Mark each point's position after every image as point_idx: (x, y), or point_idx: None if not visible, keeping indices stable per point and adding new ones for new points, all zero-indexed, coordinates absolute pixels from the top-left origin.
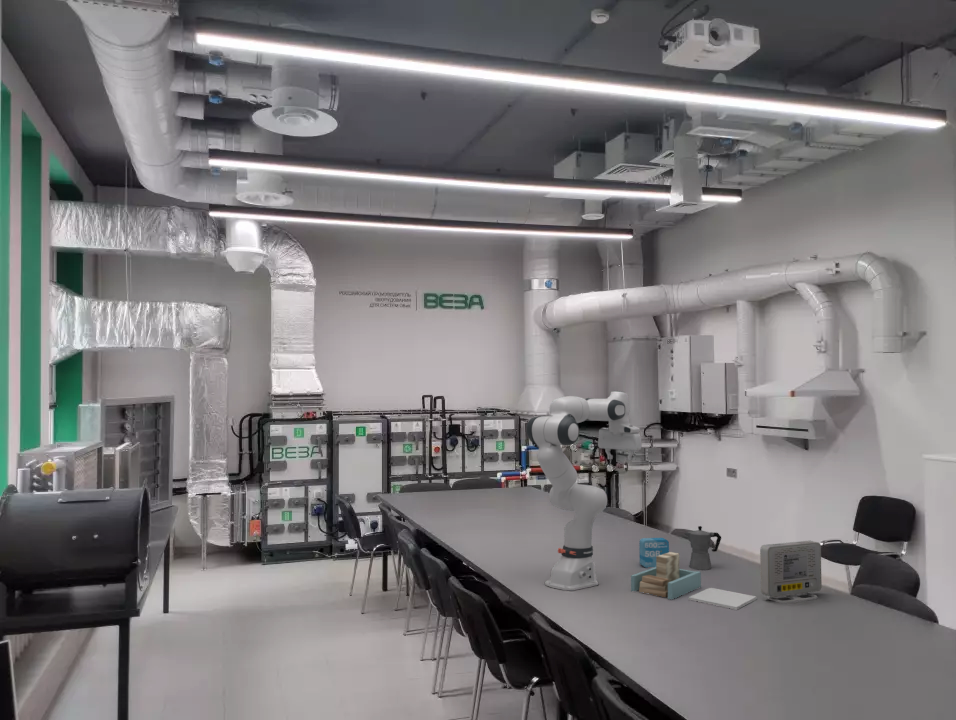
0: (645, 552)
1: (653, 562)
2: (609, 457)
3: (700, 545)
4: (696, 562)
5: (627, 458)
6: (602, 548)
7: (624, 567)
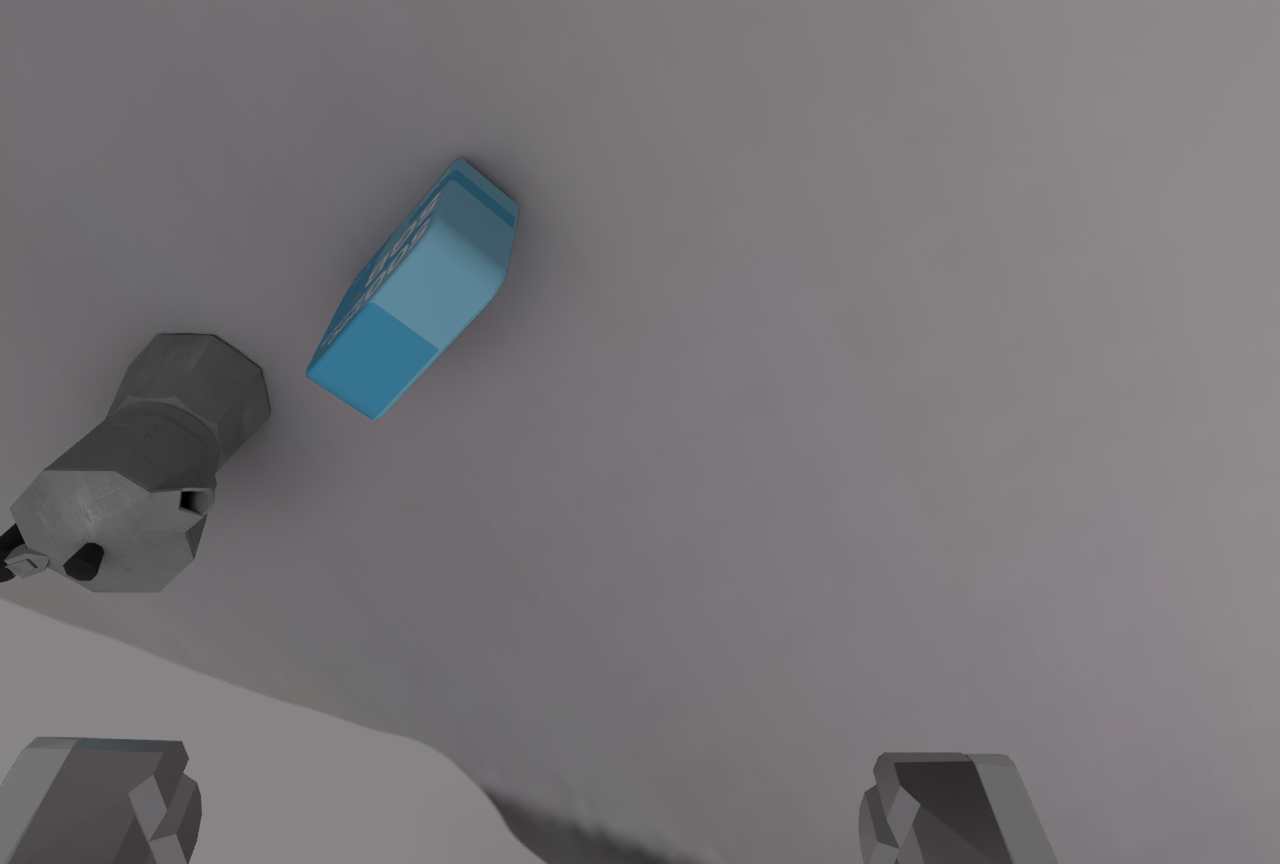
0: (434, 202)
1: (409, 220)
2: (948, 800)
3: (90, 432)
4: (172, 360)
5: (85, 798)
6: (939, 468)
7: (577, 72)
